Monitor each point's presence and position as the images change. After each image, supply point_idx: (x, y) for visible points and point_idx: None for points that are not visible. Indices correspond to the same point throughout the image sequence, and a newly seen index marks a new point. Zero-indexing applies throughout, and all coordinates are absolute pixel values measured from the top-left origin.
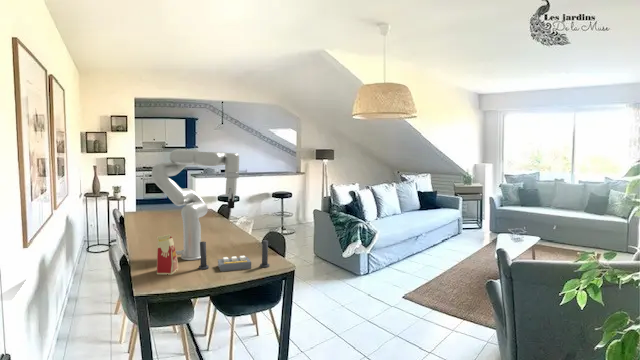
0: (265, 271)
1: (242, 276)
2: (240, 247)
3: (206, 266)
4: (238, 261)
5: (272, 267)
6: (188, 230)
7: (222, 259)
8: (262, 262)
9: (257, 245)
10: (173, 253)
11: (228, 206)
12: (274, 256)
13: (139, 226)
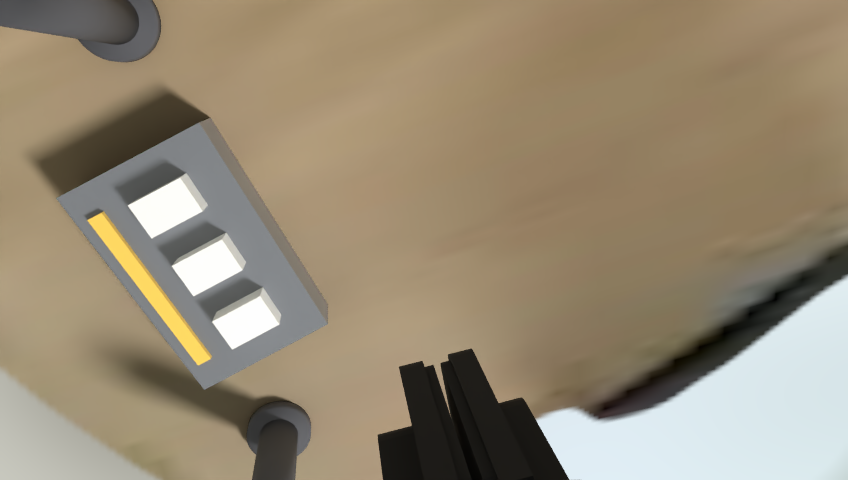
0: (177, 462)
1: (27, 366)
2: (723, 123)
3: (113, 47)
4: (169, 309)
5: None
6: None
7: (207, 161)
8: (262, 437)
9: (774, 233)
10: None
11: (406, 394)
12: None
13: None
